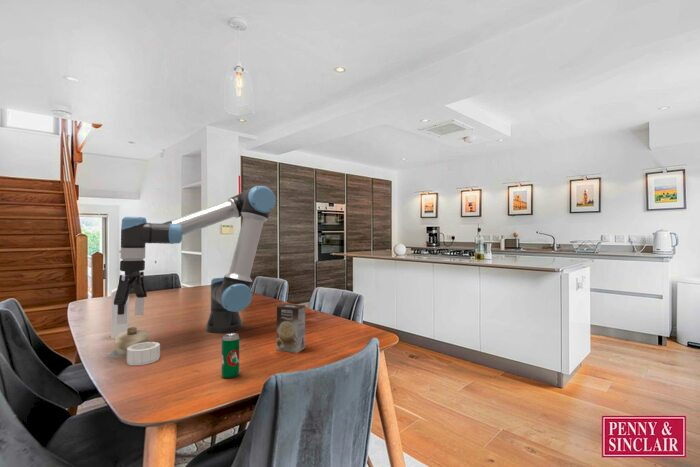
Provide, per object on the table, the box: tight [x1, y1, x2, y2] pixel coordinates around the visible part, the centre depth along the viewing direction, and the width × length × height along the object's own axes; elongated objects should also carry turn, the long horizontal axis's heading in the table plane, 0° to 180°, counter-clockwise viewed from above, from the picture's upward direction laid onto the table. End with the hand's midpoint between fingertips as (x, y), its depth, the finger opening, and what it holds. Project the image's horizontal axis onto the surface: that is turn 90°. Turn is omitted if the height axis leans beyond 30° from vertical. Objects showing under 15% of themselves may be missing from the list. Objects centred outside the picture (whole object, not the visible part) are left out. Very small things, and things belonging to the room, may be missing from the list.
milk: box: [110, 287, 130, 340], centre depth 139 cm, size 6×6×22 cm
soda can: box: [220, 332, 241, 379], centre depth 100 cm, size 5×5×12 cm
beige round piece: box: [114, 326, 149, 356], centre depth 121 cm, size 10×10×8 cm
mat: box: [104, 350, 127, 359], centre depth 120 cm, size 12×12×1 cm
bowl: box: [126, 341, 161, 366], centre depth 111 cm, size 9×9×5 cm
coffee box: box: [275, 303, 306, 354], centre depth 124 cm, size 9×6×16 cm
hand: (130, 319), depth 120 cm, fingers open, 13 cm apart
